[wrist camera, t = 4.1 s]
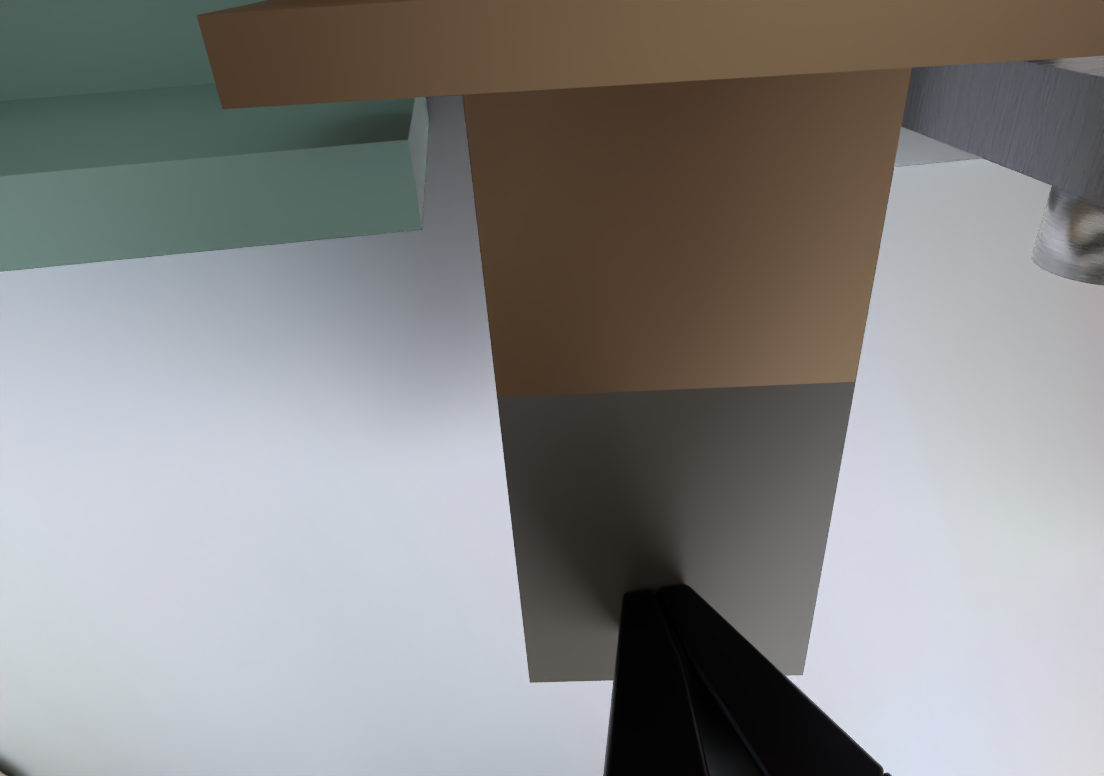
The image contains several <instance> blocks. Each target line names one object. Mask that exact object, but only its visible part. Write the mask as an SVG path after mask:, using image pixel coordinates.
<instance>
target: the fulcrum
mask: <svg viewBox="0 0 1104 776" xmlns="http://www.w3.org/2000/svg"><path fill="white" fill-rule="evenodd" d="M980 158H983V159H986V160H988V161H991V162H993V163H996V164H999V165H1001V166H1004V167H1006V168H1009V169H1011V170H1014V171H1017V172H1019V173H1022V174H1024V175H1027V176H1029V177H1032V178H1034V179H1037V180H1040V181H1042V182H1045V183H1047V184H1050V185H1052V188H1051V191H1050V195H1049V198H1048V201H1047V205H1046V208H1045V212H1044V215H1043V218H1042V222H1041V225H1040V229H1039V232H1038V235H1037V239H1036V242H1035V246H1034V249H1033V252H1032V260H1033V262H1034V263H1035V264H1036V265H1038V266H1039V267H1041V268H1042V269H1044V270H1046V271H1048V272H1050V273H1053V274H1055V275H1058V276H1061V277H1064V278H1068V279H1071V280H1076V281H1080V282H1085V283H1091V284H1098V285H1104V56H1093V57H1077V58H1060V59H1044V60H1027V61H1010V62H994V63H977V64H961V65H944V66H928V67H912V70H911V75H910V81H909V87H908V92H907V98H906V103H905V109H904V114H903V120H902V125H901V131H900V137H899V142H898V148H897V153H896V159H895V164H894V167H898V166H909V165H919V164H929V163H939V162H950V161H960V160H970V159H980Z"/></svg>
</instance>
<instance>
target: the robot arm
mask: <svg viewBox="0 0 1104 776" xmlns="http://www.w3.org/2000/svg"><path fill="white" fill-rule="evenodd" d="M603 776H892V775H891V774H889V773H884V775H883V768H882V766H881V765H880V764H879V763H877V762H876V761H875V760H874V759H873V758H872V757H871V756H870V755H869V754H868V753H867V752H866V751H865V750H864V749H863V748H862V747H860V746H859V745H858V744H857V743H856V742H855V741H854V740H853V739H852V738H851V737H850V736H849V735H848V734H847V733H846V732H844V731H843V730H842V729H841V728H840V727H839V726H838V725H837V724H836V723H835V722H834V721H833V720H832V719H831V718H830V717H829V716H827V715H826V714H825V713H824V712H823V711H822V710H821V709H820V708H819V707H818V706H817V705H816V704H815V703H814V702H813V701H812V700H810V699H809V698H808V697H807V696H806V695H805V694H804V693H803V692H802V691H801V690H800V689H799V688H798V687H797V686H796V685H795V684H793V683H792V682H791V681H790V680H789V679H788V678H787V677H786V676H785V675H784V674H783V673H782V672H781V671H780V670H779V669H778V668H776V667H775V666H774V665H773V664H772V663H771V662H770V661H769V660H768V659H767V658H766V657H765V656H764V655H763V654H762V653H761V652H759V651H758V650H757V649H756V648H755V647H754V646H753V645H752V644H751V643H750V642H749V641H748V640H747V639H746V638H745V637H744V636H742V635H741V634H740V633H739V632H738V631H737V630H736V629H735V628H734V627H733V626H732V625H731V624H730V623H729V622H728V621H727V620H725V619H724V618H723V617H722V616H721V615H720V614H719V613H718V612H717V611H716V610H715V609H714V608H713V607H712V606H711V605H709V604H708V603H707V602H706V601H705V600H704V599H703V598H702V597H701V596H700V595H699V594H698V593H697V592H696V591H695V590H694V589H692V588H691V587H690V586H689V585H686V584H677V585H671V586H664V587H661V588H659V589H658V591H657V599H656V596H655V594H654V593H653V592H652V590H650V589H644V590H637V591H631V592H626V593H624V595H623V597H622V605H621V615H620V624H619V633H618V643H617V652H616V662H615V671H614V680H613V690H612V699H611V708H610V718H609V727H608V737H607V746H606V755H605V765H604V774H603Z"/></svg>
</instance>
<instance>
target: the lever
mask: <svg viewBox="0 0 1104 776" xmlns="http://www.w3.org/2000/svg"><path fill="white" fill-rule="evenodd" d="M197 19H198V22H199V26H200V30H201V33H202V37H203V40H204V44H205V48H206V51H207V55H208V59H209V62H210V66H211V69H212V73H213V77H214V80H215V84H216V87H217V91H218V95H219V98H220V102H221V106H222V109H235V108H251V107H268V106H284V105H301V104H317V103H334V102H350V101H367V100H383V99H400V98H416V97H433V96H449V95H463V104H464V112H465V121H466V130H467V138H468V147H469V156H470V164H471V173H472V182H473V191H474V199H475V208H476V217H477V225H478V234H479V243H480V252H481V260H482V269H483V278H484V286H485V295H486V304H487V312H488V321H489V330H490V339H491V347H492V356H493V365H494V373H495V382H496V391H497V399H498V408H499V417H500V426H501V434H502V443H503V452H504V460H505V469H506V478H507V487H508V495H509V504H510V513H511V521H512V530H513V539H514V547H515V556H516V565H517V574H518V582H519V591H520V600H521V608H522V617H523V626H524V634H525V643H526V652H527V661H528V669H529V678H530V682H565V681H601V680H614V671H615V662H616V652H617V643H618V633H619V624H620V615H621V605H622V597H623V595H624V593H626V592H631V591H637V590H644V589H650V590H652V592H653V593H654V594H655V596H656V599H657V591H658V589H659V588H661V587H664V586H671V585H677V584H686V585H689V586H690V587H691V588H692V589H694V590H695V591H696V592H697V593H698V594H699V595H700V596H701V597H702V598H703V599H704V600H705V601H706V602H707V603H708V604H709V605H711V606H712V607H713V608H714V609H715V610H716V611H717V612H718V613H719V614H720V615H721V616H722V617H723V618H724V619H725V620H727V621H728V622H729V623H730V624H731V625H732V626H733V627H734V628H735V629H736V630H737V631H738V632H739V633H740V634H741V635H742V636H744V637H745V638H746V639H747V640H748V641H749V642H750V643H751V644H752V645H753V646H754V647H755V648H756V649H757V650H758V651H759V652H761V653H762V654H763V655H764V656H765V657H766V658H767V659H768V660H769V661H770V662H771V663H772V664H773V665H774V666H775V667H776V668H778V669H779V670H780V671H781V672H782V673H783V674H784V675H803V671H804V665H805V660H806V654H807V649H808V643H809V638H810V632H811V626H812V621H813V615H814V610H815V604H816V599H817V593H818V587H819V582H820V576H821V571H822V565H823V560H824V554H825V548H826V543H827V537H828V532H829V526H830V521H831V515H832V510H833V504H834V498H835V493H836V487H837V482H838V476H839V471H840V465H841V459H842V454H843V448H844V443H845V437H846V432H847V426H848V420H849V415H850V409H851V404H852V398H853V393H854V387H855V382H856V376H857V370H858V365H859V359H860V354H861V348H862V343H863V337H864V331H865V326H866V320H867V315H868V309H869V304H870V298H871V292H872V287H873V281H874V276H875V270H876V265H877V259H878V254H879V248H880V242H881V237H882V231H883V226H884V220H885V215H886V209H887V203H888V198H889V192H890V187H891V181H892V176H893V170H894V164H895V159H896V153H897V148H898V142H899V137H900V131H901V125H902V120H903V114H904V109H905V103H906V98H907V92H908V87H909V81H910V75H911V70H912V67H928V66H944V65H961V64H977V63H994V62H1010V61H1027V60H1044V59H1060V58H1077V57H1093V56H1104V0H266V1H262V2H257V3H252V4H247V5H243V6H238V7H233V8H228V9H224V10H219V11H214V12H209V13H205V14H200V15H197Z"/></svg>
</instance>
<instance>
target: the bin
mask: <svg viewBox="0 0 1104 776" xmlns="http://www.w3.org/2000/svg"><path fill="white" fill-rule="evenodd" d="M262 1H266V0H0V272H1V271H11V270H21V269H31V268H41V267H51V266H61V265H71V264H81V263H91V262H102V261H112V260H122V259H132V258H142V257H152V256H162V255H172V254H182V253H192V252H202V251H212V250H222V249H232V248H242V247H253V246H263V245H273V244H283V243H293V242H303V241H313V240H323V239H333V238H343V237H353V236H363V235H373V234H383V233H393V232H404V231H414V230H422V224H423V208H424V192H425V177H426V161H427V145H428V130H429V116H428V109H427V101H426V97H416V98H400V99H383V100H367V101H350V102H334V103H317V104H301V105H284V106H268V107H251V108H235V109H222V106H221V102H220V98H219V95H218V91H217V87H216V84H215V80H214V77H213V73H212V69H211V66H210V62H209V59H208V55H207V51H206V48H205V44H204V40H203V37H202V33H201V30H200V26H199V22H198V19H197V15H200V14H205V13H209V12H214V11H219V10H224V9H228V8H233V7H238V6H243V5H247V4H252V3H257V2H262Z"/></svg>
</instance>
